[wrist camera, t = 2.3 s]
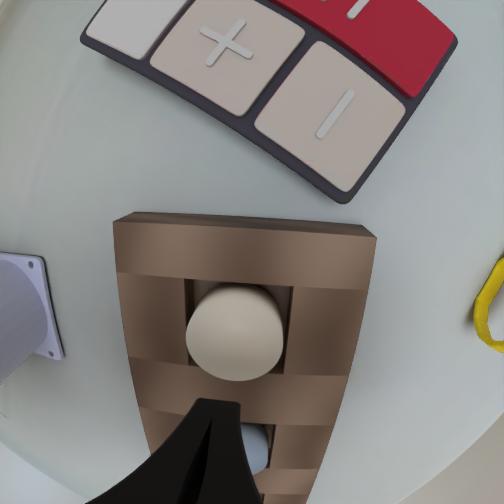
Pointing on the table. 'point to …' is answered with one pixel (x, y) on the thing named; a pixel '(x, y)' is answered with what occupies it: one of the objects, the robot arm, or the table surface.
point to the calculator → (288, 72)
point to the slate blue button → (255, 445)
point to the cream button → (236, 332)
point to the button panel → (293, 322)
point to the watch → (482, 302)
